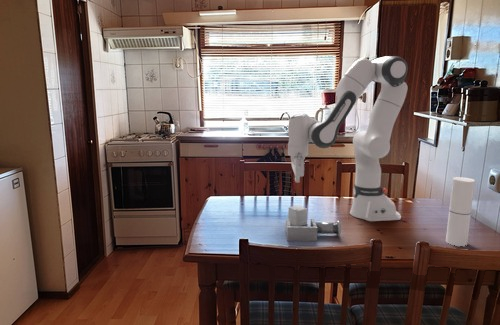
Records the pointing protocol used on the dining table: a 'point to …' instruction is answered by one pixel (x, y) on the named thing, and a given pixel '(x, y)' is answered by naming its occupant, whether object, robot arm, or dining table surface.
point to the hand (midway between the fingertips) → (297, 181)
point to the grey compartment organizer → (311, 230)
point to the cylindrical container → (460, 211)
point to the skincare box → (297, 215)
